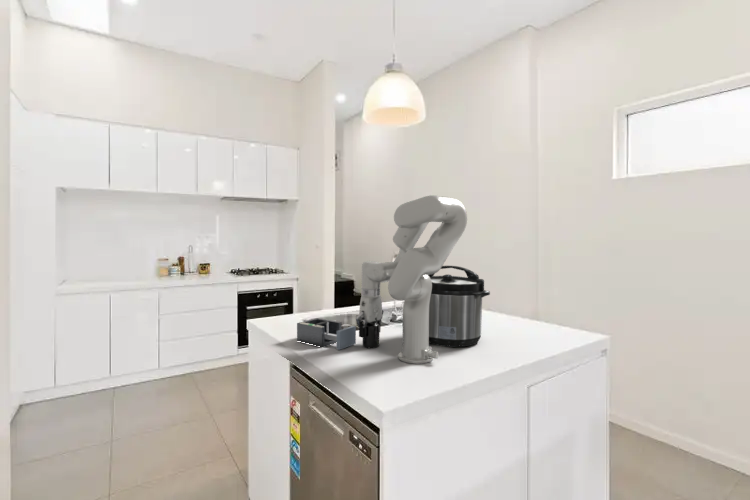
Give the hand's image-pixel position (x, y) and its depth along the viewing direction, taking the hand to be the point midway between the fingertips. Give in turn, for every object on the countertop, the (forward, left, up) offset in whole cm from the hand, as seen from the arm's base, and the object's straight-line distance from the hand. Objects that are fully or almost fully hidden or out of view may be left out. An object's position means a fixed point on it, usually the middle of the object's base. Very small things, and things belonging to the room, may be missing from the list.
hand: (369, 334), depth 156 cm
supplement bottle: (-1, 0, -5) cm, 5 cm away
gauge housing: (+21, +7, -5) cm, 23 cm away
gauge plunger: (+12, +8, -4) cm, 15 cm away
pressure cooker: (-22, -28, -5) cm, 36 cm away
